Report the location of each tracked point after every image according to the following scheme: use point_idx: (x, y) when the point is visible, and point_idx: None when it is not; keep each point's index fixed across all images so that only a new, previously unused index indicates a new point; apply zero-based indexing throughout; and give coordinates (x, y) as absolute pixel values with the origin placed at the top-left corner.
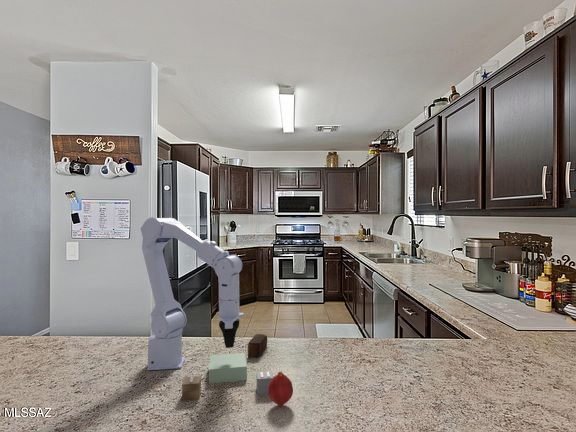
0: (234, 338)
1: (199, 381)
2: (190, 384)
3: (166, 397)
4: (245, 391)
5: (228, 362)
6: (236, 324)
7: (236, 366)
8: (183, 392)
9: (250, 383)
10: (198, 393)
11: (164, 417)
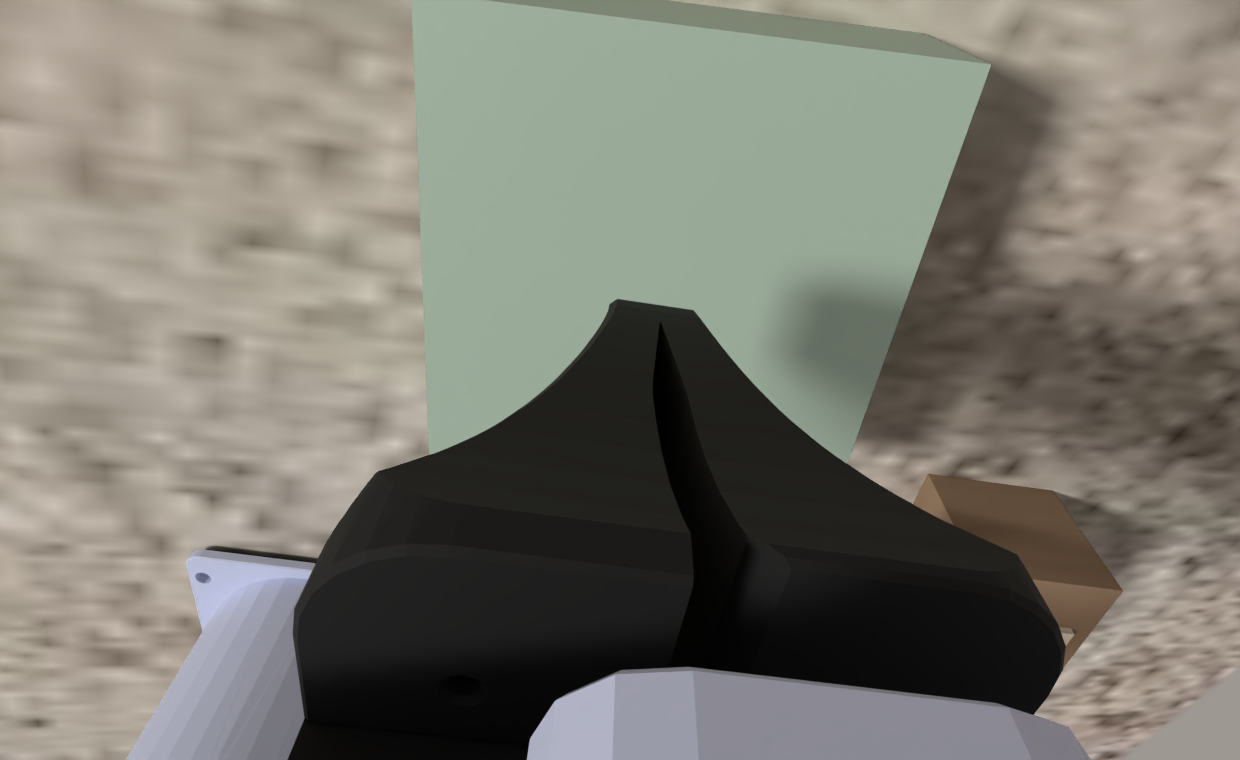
0: (752, 387)
1: (1089, 586)
2: (1081, 635)
3: None
4: (1189, 108)
5: (727, 290)
6: (1021, 677)
7: (907, 212)
8: None
9: (1040, 7)
10: (1075, 529)
11: (1142, 653)
